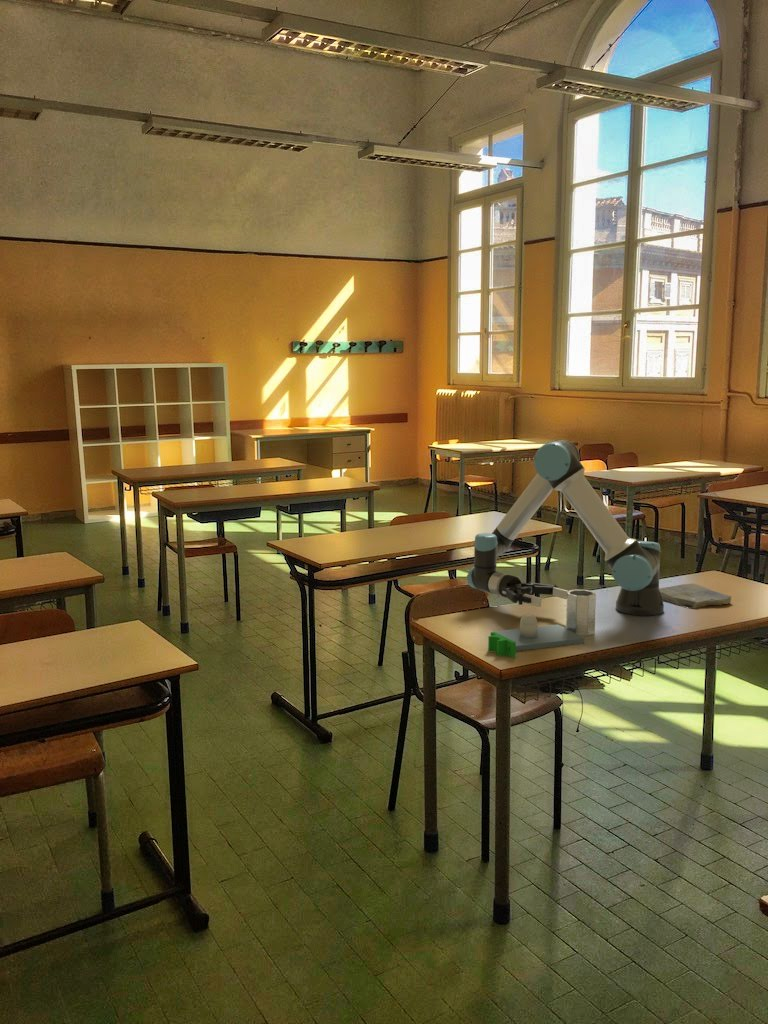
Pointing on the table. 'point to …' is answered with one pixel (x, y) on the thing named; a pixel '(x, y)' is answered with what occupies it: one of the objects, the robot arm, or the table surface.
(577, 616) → the sleeve
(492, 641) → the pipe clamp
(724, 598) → the fossil
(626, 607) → the robot arm
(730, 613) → the table surface
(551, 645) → the base
